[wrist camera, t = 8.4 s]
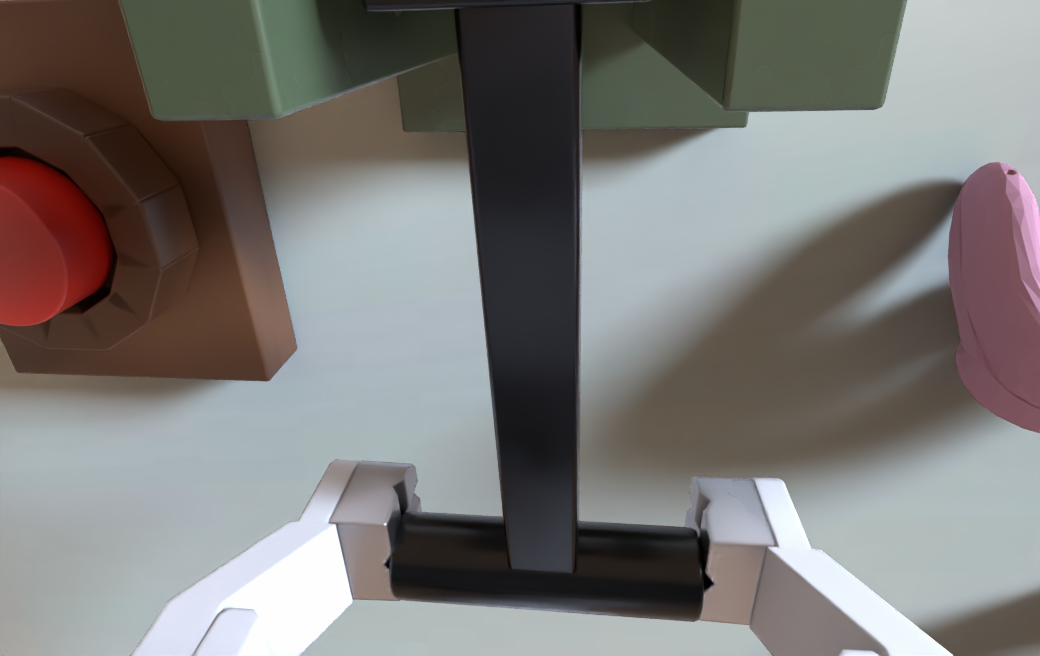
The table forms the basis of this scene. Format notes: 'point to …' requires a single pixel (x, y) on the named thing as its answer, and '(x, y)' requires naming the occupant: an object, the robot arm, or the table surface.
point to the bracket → (435, 67)
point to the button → (47, 243)
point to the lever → (534, 345)
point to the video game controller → (998, 292)
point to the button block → (141, 210)
